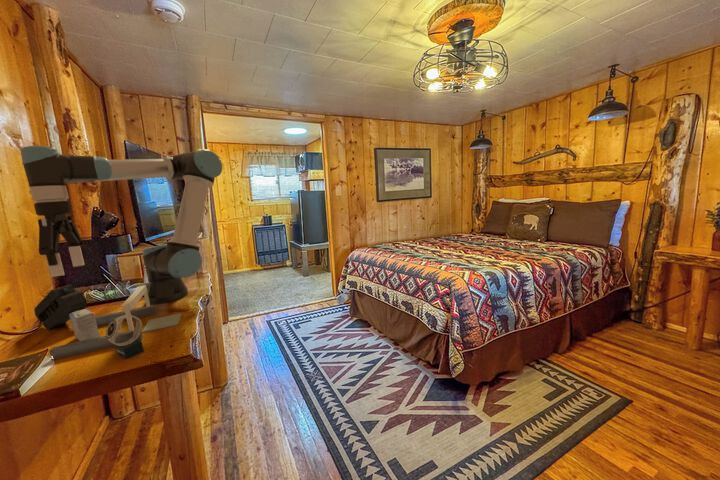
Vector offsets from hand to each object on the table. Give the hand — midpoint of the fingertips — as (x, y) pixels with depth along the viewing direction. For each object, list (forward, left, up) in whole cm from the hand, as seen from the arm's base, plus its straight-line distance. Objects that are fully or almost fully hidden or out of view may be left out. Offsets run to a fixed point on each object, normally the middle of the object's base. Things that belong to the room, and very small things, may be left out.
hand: (69, 270), depth 91 cm
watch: (-16, +20, -23) cm, 34 cm away
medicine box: (0, 0, -23) cm, 23 cm away
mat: (-21, +1, -23) cm, 31 cm away
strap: (-15, 0, -19) cm, 24 cm away
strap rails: (-7, 0, -23) cm, 24 cm away
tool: (+11, -16, -23) cm, 30 cm away
